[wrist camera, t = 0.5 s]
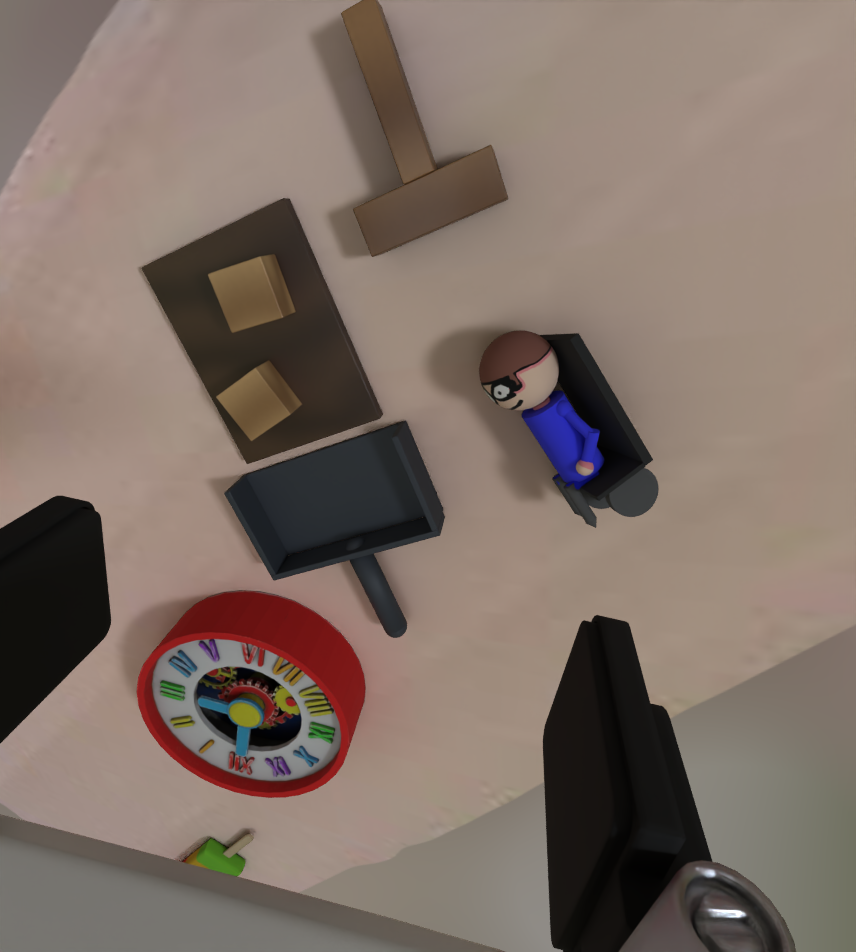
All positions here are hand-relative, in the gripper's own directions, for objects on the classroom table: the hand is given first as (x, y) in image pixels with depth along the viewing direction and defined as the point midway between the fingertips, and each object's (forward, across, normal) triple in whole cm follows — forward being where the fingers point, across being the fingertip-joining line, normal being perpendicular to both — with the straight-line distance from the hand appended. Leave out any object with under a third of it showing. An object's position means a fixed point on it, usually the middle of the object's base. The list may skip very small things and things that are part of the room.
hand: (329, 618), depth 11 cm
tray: (+32, +14, +4) cm, 36 cm away
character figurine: (+33, -8, +4) cm, 34 cm away
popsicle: (+33, +18, +68) cm, 78 cm away
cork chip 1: (+31, +15, 0) cm, 35 cm away
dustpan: (+32, +5, +19) cm, 38 cm away
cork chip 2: (+31, +14, +8) cm, 35 cm away
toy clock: (+33, +13, +37) cm, 51 cm away
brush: (+32, +6, -11) cm, 35 cm away
